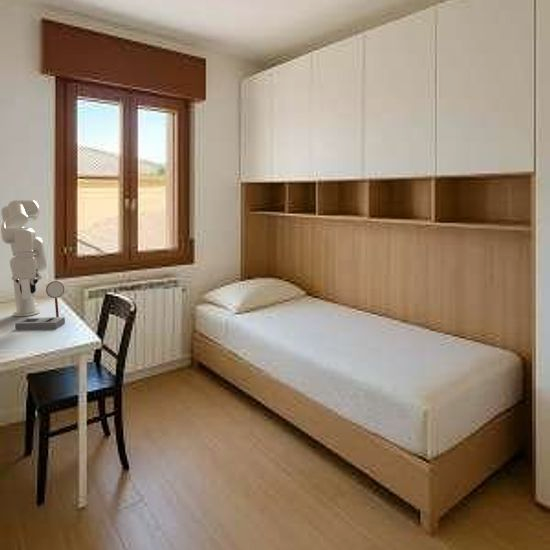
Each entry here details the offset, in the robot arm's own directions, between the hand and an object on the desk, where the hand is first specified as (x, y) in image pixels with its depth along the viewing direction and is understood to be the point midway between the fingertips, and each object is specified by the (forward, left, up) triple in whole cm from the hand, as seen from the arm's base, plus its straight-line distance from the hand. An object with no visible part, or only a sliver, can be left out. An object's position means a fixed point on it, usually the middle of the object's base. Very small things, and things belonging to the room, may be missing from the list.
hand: (28, 292), depth 233 cm
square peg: (0, 0, -3) cm, 3 cm away
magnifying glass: (-13, +7, -17) cm, 23 cm away
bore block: (0, +4, -17) cm, 17 cm away
